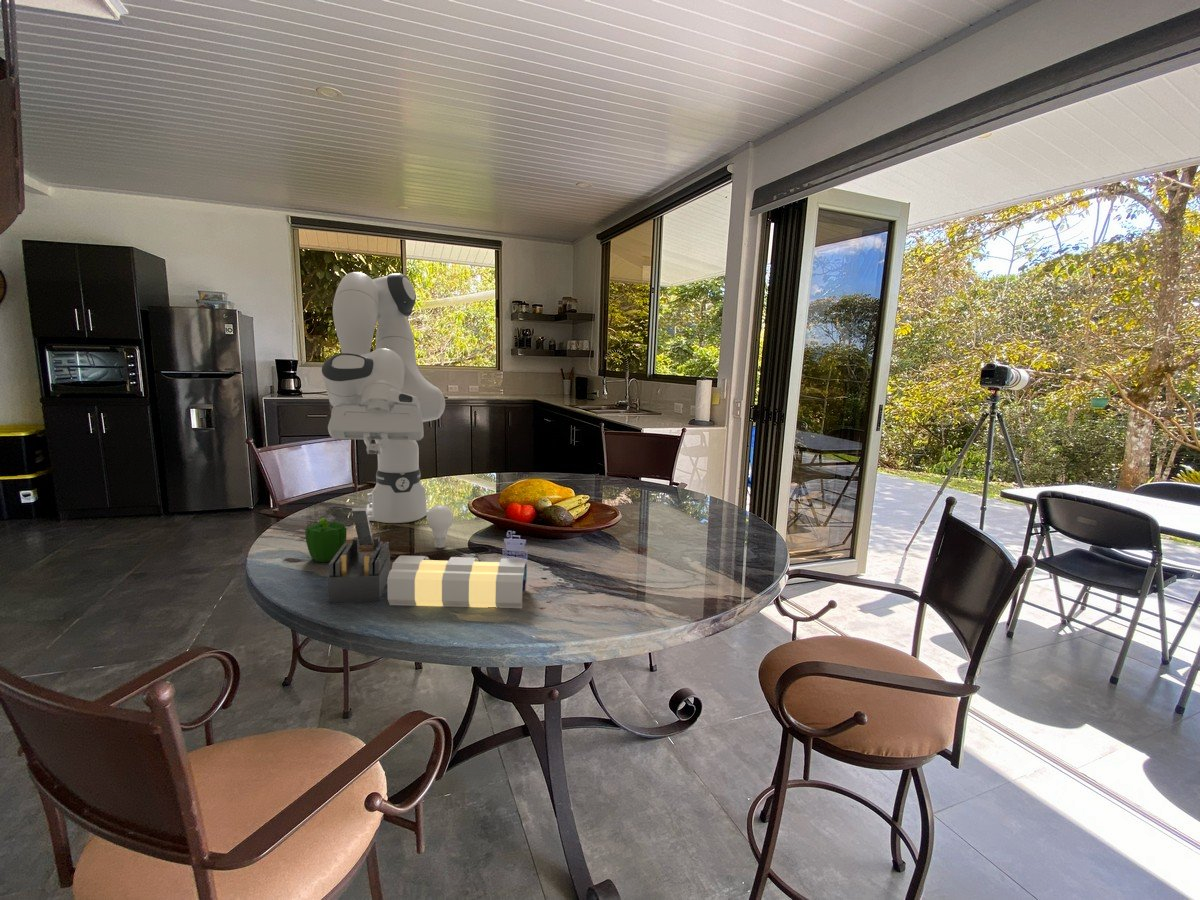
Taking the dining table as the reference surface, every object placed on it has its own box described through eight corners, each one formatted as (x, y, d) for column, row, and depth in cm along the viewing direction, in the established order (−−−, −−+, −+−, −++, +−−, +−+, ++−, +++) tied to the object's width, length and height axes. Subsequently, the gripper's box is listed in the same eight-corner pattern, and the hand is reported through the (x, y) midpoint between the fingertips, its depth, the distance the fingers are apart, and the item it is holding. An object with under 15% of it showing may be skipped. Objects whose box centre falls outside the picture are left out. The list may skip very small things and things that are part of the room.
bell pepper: (323, 550, 126) (322, 509, 124) (354, 554, 124) (353, 513, 122) (296, 562, 117) (294, 519, 116) (328, 567, 116) (327, 523, 114)
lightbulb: (445, 553, 127) (445, 509, 126) (421, 550, 129) (421, 507, 127) (457, 545, 134) (458, 503, 132) (434, 542, 135) (434, 500, 133)
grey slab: (359, 546, 110) (360, 542, 111) (372, 546, 111) (373, 542, 112) (351, 511, 102) (352, 507, 103) (365, 511, 103) (366, 507, 104)
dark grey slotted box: (344, 575, 112) (344, 537, 110) (390, 574, 114) (389, 536, 112) (328, 602, 99) (327, 559, 98) (379, 600, 101) (378, 558, 100)
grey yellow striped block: (526, 589, 110) (528, 529, 108) (522, 612, 100) (524, 546, 98) (405, 586, 109) (404, 525, 107) (387, 608, 99) (387, 541, 97)
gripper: (330, 394, 120) (319, 443, 112) (424, 397, 125) (420, 444, 117) (336, 412, 125) (325, 460, 117) (426, 414, 130) (422, 460, 122)
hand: (373, 452), depth 117 cm, fingers closed
